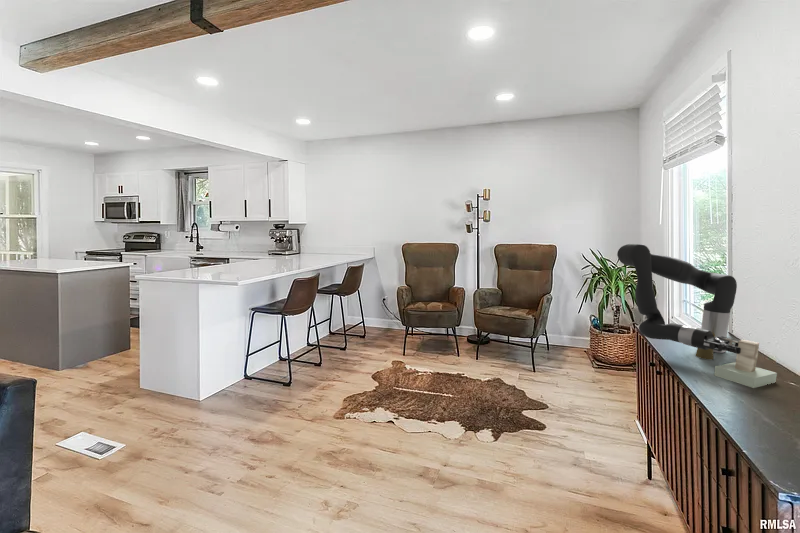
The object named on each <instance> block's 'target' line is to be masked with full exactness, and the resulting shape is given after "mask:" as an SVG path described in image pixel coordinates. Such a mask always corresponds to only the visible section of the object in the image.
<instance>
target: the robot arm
mask: <svg viewBox="0 0 800 533" xmlns="http://www.w3.org/2000/svg"><path fill="white" fill-rule="evenodd" d="M616 255H617V259H618V260H619V261H620V263H621V264H622V265H624V266H627V267H629V266H630V267H633V268H634V269H635V272H636V276H637V278H636V279H637V282H636V287H635V291H634V292H635V294H634V295H635V296H634V297H635V298H634V299H635V302H636V306H637V310H638V312H639V314H641V315H643V316H645V317H646V320H644V321H642V322H641V323H640V324H639V326H638V331H639V332H640V334H641V335H643V336H644V337H646V338H648V339H654V340H667V341H672V342H675V343H681V344H683V345H685V346H689V347H692V348H696V349H698V348H700V349H704V350H708V349H713V353H716V354H717V353H718V354H719V353H720V354H721V353H725V352H730V353H732V354H733V353H734V354H736V355H737V354H740V352H741V348H740V347H738V343H739V341H740V339H735V338H730V337H728V332H729V324H730V317H731V316H730V315H731V309H732V308H733V306H734V304H735V298H736V293H737V289H738V284H737V283H738V282H737V279H736V278H735V277H734V276H732V275H729V274H725V273H724V274H723V273H717V272H711V271H705V270H702V269H698V268H696V267H695V266H694V265H693V264H692V263H690V262H687V261H686V260H683V259H680V258H677V257H673V256H669V255H668V256H667V255H662V254H656V253H652V252H651V250H650V249H649V247H648V246H647V245H645V244H642V243H629V244H625V245H622V246H621V247H619V249H618V250H617V254H616ZM653 274H654V275H657V276H660V277H662V278H666V279H668V280H671V281H674V282H677V283H681V284H685V285H689V286H690V285H691V286H692V287H695V288H697V289H699V290H702V291H704V292H705V293H708V294H710V295H714V296H713V300H711V301H708V302H705V303H704V304H703V311H702V318H701V319H702V320H701V326H700V328H699V327H697V326H692V325H691V326H689V325H683V324H679V323H674V322H672V323H671V322H669V323H667V324H666V322H665V318H664V316H663V315H662V313H661V311H660V310H659V308H658V305H657V301H656V296H655V292H654V287H653V285H654V284H653ZM712 332H713V333H714V334H715V337H714V336H713V333H712Z"/></svg>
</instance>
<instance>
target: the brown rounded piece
mask: <svg viewBox="0 0 800 533" xmlns="http://www.w3.org/2000/svg"><path fill="white" fill-rule="evenodd" d="M712 333H713V332H712ZM713 336H714V337H715V334H714V333H713ZM696 349H697V350H696V352H695V355H696V356H697V357H696V356H695V357H696V358H700V359H703V360H708V361H709V360H714V352H713V349H708V350H704V349H700V348H696Z"/></svg>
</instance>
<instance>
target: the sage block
mask: <svg viewBox="0 0 800 533" xmlns="http://www.w3.org/2000/svg"><path fill="white" fill-rule="evenodd" d="M735 364H736V361H734V362H728V363H724V364H719V365H715V366H714V375H713V376H714V377H718V378H721V379H724V380H727V381H731V382H734V383H736V384H737V383H738V384H740V385H743V386H746V387H749V388H752V389H756V388H759V387H760V388H761V387H764V386H767V384H768V385H771V383H772V384H775V382H776V381H777V375H778V372H775V371H771V370H769V369H768V370H767V369H764V368H761V367H757V366H756V370H755V371H753V372H751V373H750V372H746V371H742V370H739V369H735Z"/></svg>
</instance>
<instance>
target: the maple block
mask: <svg viewBox="0 0 800 533" xmlns="http://www.w3.org/2000/svg"><path fill="white" fill-rule="evenodd" d="M739 340H740V339H739ZM738 347H740V348H741V352H740V354H737V353H736V358H735V362H736V364H735V369H739V370H742V371H746V372H750V373H751V372H753V371H755V370H756V367H757V362H758V357H759V356H758V355H759V349H760V342H757V341H753V340H749V339H741V340H740V341H739V343H738Z"/></svg>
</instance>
